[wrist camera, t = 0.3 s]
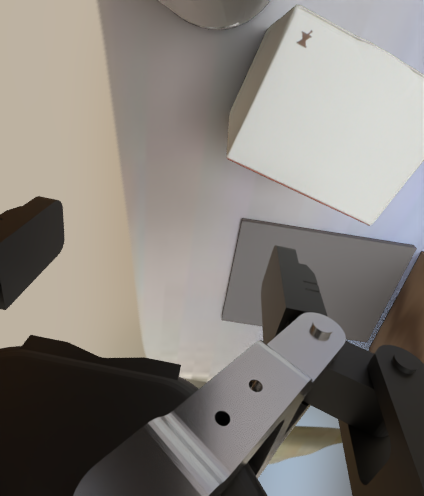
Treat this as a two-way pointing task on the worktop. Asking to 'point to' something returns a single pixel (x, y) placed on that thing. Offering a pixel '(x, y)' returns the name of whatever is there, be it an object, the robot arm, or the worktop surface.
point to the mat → (319, 273)
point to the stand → (406, 316)
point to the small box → (329, 116)
